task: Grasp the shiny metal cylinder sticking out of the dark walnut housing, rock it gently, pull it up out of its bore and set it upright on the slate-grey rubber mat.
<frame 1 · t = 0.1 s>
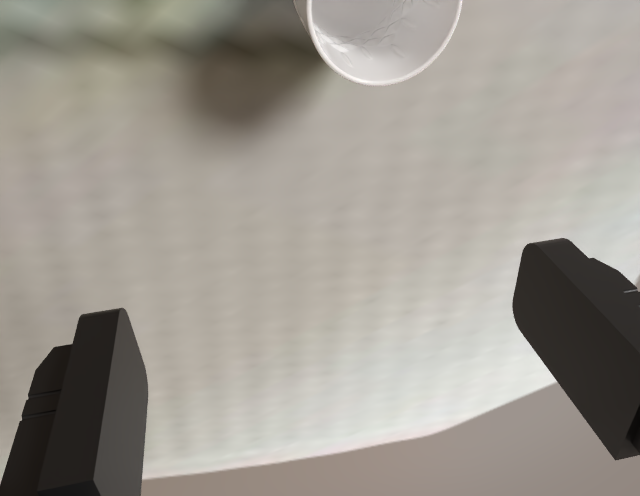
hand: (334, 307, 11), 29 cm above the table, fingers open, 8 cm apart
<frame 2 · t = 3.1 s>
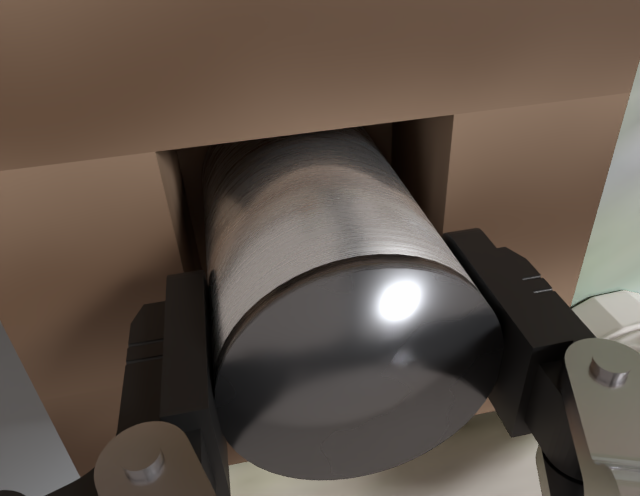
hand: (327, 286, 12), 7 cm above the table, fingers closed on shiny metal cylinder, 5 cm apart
shiny metal cylinder: (290, 177, 16), point 2 cm above the table, touching gripper, housing
housing: (281, 149, 17), on the table
white cup: (590, 341, 26), on the table
when the fingers open (7 cm above the table, at t = 11.9 s): shiny metal cylinder drops 1 cm, resting on mat.
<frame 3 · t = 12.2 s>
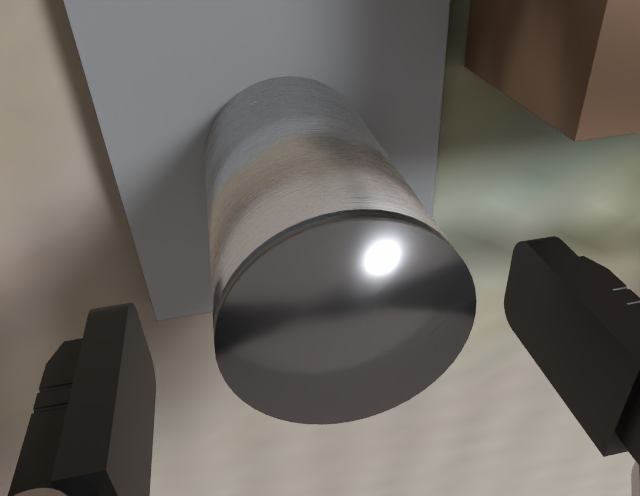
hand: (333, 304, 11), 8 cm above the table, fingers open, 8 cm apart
mat: (280, 149, 17), on the table
shiny metal cylinder: (287, 158, 17), point 1 cm above the table, touching mat
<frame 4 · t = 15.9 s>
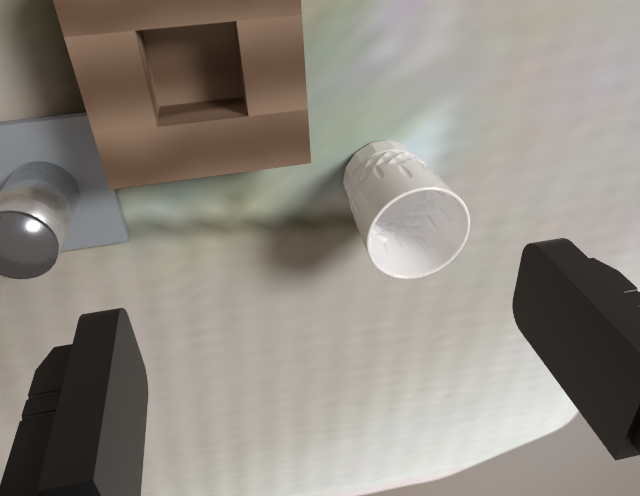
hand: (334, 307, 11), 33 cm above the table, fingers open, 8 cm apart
mat: (46, 187, 43), on the table
shiny metal cylinder: (45, 191, 42), point 1 cm above the table, touching mat
housing: (194, 51, 39), on the table
white cup: (379, 174, 48), on the table
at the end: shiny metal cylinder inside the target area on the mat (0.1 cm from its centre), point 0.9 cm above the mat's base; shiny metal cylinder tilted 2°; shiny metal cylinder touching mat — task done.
